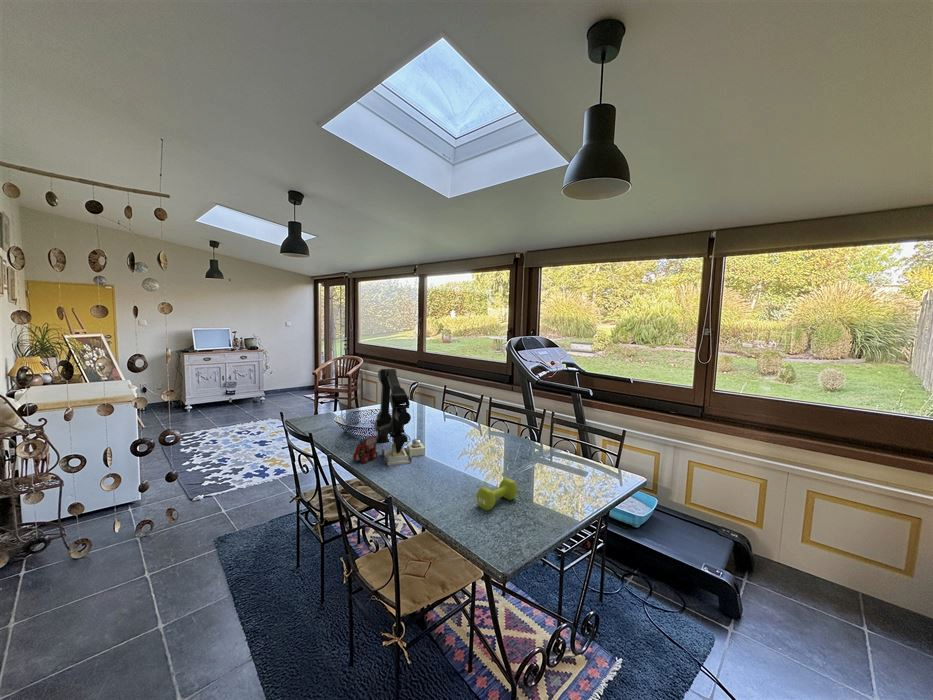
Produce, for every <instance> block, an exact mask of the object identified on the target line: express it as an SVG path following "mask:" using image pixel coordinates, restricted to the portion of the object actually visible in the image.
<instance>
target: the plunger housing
mask: <svg viewBox="0 0 933 700" xmlns="http://www.w3.org/2000/svg"><path fill="white" fill-rule="evenodd" d="M406 448H407V455H411V457H417V456H425V455H426V447H425V446H424V444H423V443H422V442H420V447H419V448H412V443H407V444H406Z"/></svg>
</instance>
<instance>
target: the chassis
mask: <svg viewBox="0 0 933 700" xmlns="http://www.w3.org/2000/svg"><path fill="white" fill-rule="evenodd" d="M381 456H382V457H384V459H383V460H384V461H383V462H384V463H383V464H384V465H387V466H395V465H396V466H397V465H406V464H407V465H409V464H410V463H411V462H412V461H413V460H412V457H413V456H411V455H409V454H408V452H407V447H404V448H402V456H392V449H390V450H386V451H385V449H381Z"/></svg>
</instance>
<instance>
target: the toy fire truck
mask: <svg viewBox="0 0 933 700" xmlns="http://www.w3.org/2000/svg"><path fill="white" fill-rule="evenodd" d="M378 456H379V452H378V451H377V435H372V436H369V437H366V438H364V439H361V440H359V443H358V444H357V446H356V448H355V450H354V453H353V455H352V459H353V460H354V461H355V462H358V461H361V463H363V464H367V463H369V460H372V461H375V460H377V459H378Z"/></svg>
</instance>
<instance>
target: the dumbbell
mask: <svg viewBox="0 0 933 700" xmlns="http://www.w3.org/2000/svg"><path fill="white" fill-rule="evenodd" d="M518 493H519V490H518V487H517V484H516V481H515V480H513V479H512V478H508V477H505V478H503V479H502V480H501V482H500V483H499V486H498V488H496V489H494V490H491V488H488V487H485V486H482V487H480V488H479V489H478V491H477V492H476V495H475V497H476V500H477V501H476V502H477V505H478V507H479V508H481V509H483V510H484V511H487V512H488V511H490V510H492V509H493V508H494V506H495V504H496V500H497V499H500V498H501V497H503V498H504V499H506V500H509V501H510V500H513V499H515V498H516V497H517V494H518Z"/></svg>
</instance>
